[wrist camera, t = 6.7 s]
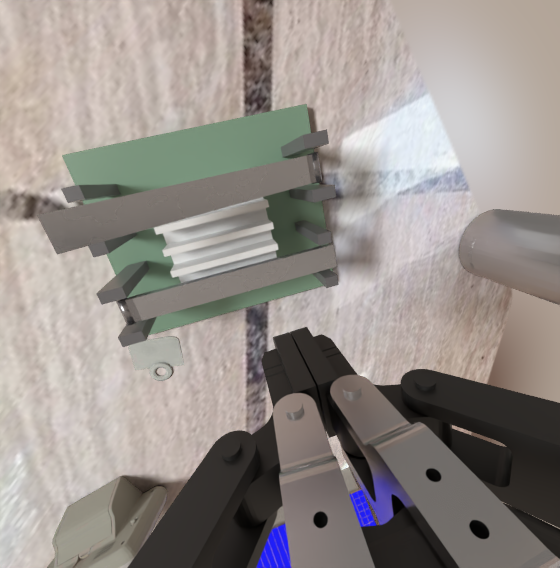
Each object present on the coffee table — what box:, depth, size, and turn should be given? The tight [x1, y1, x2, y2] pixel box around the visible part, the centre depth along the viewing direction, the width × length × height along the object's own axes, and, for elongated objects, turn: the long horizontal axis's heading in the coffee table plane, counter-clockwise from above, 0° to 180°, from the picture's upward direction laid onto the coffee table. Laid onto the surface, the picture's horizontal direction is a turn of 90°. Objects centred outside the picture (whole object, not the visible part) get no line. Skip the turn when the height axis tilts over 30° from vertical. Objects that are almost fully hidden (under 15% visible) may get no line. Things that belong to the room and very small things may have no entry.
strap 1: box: [37, 152, 322, 254], centre depth 21 cm, size 20×2×1 cm, turn 101°
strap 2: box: [116, 243, 337, 326], centre depth 27 cm, size 20×2×1 cm, turn 102°
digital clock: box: [47, 476, 168, 568], centre depth 38 cm, size 16×9×11 cm, turn 106°
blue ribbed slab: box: [256, 467, 376, 568], centre depth 48 cm, size 19×25×10 cm
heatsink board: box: [62, 104, 338, 347], centre depth 29 cm, size 24×20×10 cm
